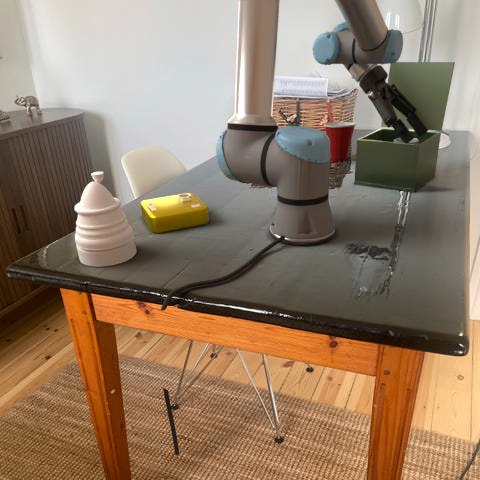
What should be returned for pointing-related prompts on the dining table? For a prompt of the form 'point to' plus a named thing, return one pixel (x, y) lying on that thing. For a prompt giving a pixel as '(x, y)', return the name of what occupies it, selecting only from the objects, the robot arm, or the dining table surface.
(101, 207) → the honey pot
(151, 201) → the yellow box
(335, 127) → the plastic cup
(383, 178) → the green open box
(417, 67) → the lid
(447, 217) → the dining table surface
